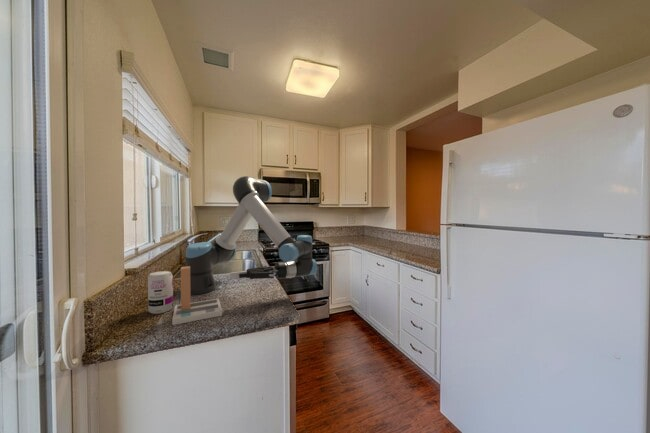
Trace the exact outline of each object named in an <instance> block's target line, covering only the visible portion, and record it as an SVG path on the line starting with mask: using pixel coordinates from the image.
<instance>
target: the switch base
mask: <svg viewBox="0 0 650 433" xmlns="http://www.w3.org/2000/svg"><path fill="white" fill-rule="evenodd" d="M173 309H174V310H173V315H172V321H171V322H172V323H171V325H172V326H174V325H180V324H185V323H190V322H195V321H196V322H197V321H201V320H207V319H210V318H216V317H221V316H223V309H222V305H221V302H220V299H219V298H213V299H206V300H200V301H194V302H191V309H187V310H181V304H176V305H175V306H174V308H173Z"/></svg>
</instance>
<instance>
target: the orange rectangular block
mask: <svg viewBox="0 0 650 433" xmlns="http://www.w3.org/2000/svg"><path fill="white" fill-rule="evenodd" d="M191 297H192V295H191V293H190V266H186V265H185V266H181V267H180V305H181V310H187V309H191V303H192V302H191V301H192V300H191Z"/></svg>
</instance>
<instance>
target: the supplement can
mask: <svg viewBox="0 0 650 433" xmlns="http://www.w3.org/2000/svg"><path fill="white" fill-rule="evenodd" d="M173 280H174V276H173V274H172V272H171V271H170V270H160V271H155V272H151V273H149V276H148V278H147V303H148V304H147V306H148V308H147V311H148V313H150V314H153V315H159V314H163V313H167V312H168V311H171V310H172V308H174V281H173Z"/></svg>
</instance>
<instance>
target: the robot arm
mask: <svg viewBox="0 0 650 433" xmlns="http://www.w3.org/2000/svg"><path fill="white" fill-rule="evenodd" d="M232 193H233V196H234V198H235V200H236V201H237V203H238V205H237V206H236V208H235V210H234V212H233V213H232V216H231V217H230V219H229V221H228V222H227V224H226V226H225V227H224V229H223V231H222V233H221V234H220V235H217V236H216V237H215V239H214V240H213V242H210V241H202V242H195V243H191V244H190V245H188V246H186V248H185V255H184V256H185V267H186V266H190V293H191V296H194V295H202V294H207V293H210V292H214V291H215V289H216V288H217V283H216V280H215V277H214V274H213V266H216V265H220V264H225V263H228V262H230V261H232V260H234V257H235V256H236V253H237V241H238V239H239V237H240V235H241V234H242V232H243V231H244V230H245V227H246V225H247V224H248V222H249V221H250V220H251V217H252V218H253V219H254V220H255V222H257V224H258V225H259V226H260V227H261V229H262V230H263V231H264V232H265V234H266V235H267V237H269V239H270V240H271V241H272V243H274V245H275V246H276V248H277V249H278V256H279V259H280V260H281V261H279V262H275V264H274V266H272V265H269V266H267V265H263V266H259V267H252V268H247V269H246V270H240V271H232V272H230V273H229V279H230V281H233V280H239V279H240V280H241V279H249V280H257V279H258V280H259V279H274V278H275V277H276V279H277V280H283V279H290V280H291V279H292V278H297V277H308V276H312V275H315V274H317V270H318V265H317V264H318V263H317V261H316V260H315V259H313V243H314V242H313V236H312V235H309V234H307V235H306V234H300V235H299V234H298V235H297V237H296V241H295V240H294V238H293V237H292V236H291V235H290V233H288V231H287V230H286V229H285V227H284V225H282V224H281V223H280V221H279V220H278V219H277V217H276V216H275V215H274V214H273V213H272V212H271V210H270V209H269V208H268V207H267V205H266V204H265V203H266V202H268V201H270V199H271V197H272V195H273V190H272V186H271V184H270V183H269V182H268V181H267V180H264V179H262V178H256V177H252V176H239V177H238V178H237V179H236V180H235V181H234V183H233V184H232Z"/></svg>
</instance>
